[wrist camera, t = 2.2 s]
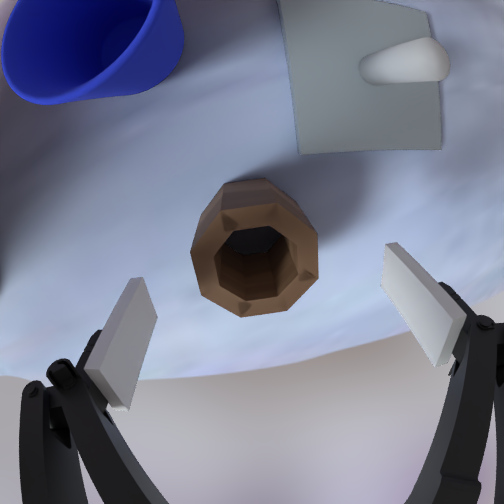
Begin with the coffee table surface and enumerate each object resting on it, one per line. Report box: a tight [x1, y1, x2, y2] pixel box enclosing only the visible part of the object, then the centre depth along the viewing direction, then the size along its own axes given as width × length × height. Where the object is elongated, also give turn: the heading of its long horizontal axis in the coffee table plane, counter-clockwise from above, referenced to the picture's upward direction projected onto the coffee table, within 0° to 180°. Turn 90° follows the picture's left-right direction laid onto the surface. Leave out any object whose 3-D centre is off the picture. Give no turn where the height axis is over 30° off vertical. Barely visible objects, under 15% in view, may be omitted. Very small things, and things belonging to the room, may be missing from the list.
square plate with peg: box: [277, 0, 450, 155], centre depth 13 cm, size 12×12×8 cm
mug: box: [1, 0, 184, 105], centre depth 10 cm, size 8×12×10 cm
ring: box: [190, 178, 318, 317], centre depth 19 cm, size 7×7×6 cm
